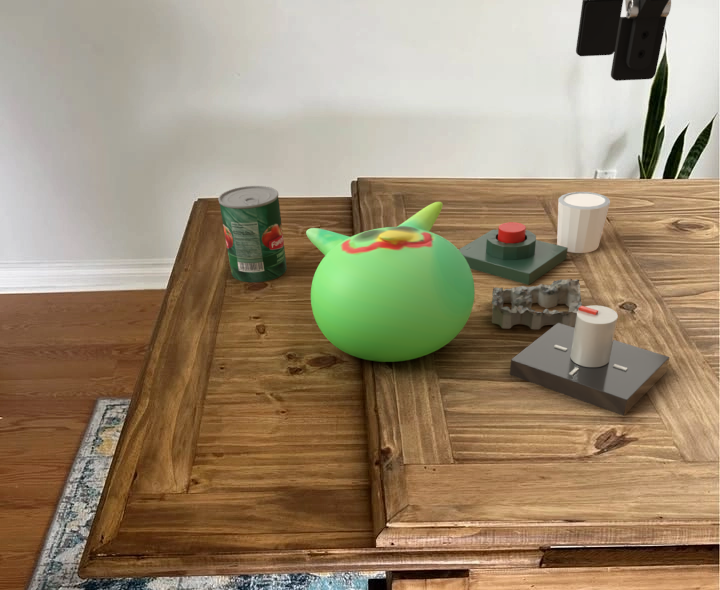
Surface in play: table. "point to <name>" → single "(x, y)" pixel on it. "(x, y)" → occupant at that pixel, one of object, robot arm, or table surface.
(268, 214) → the canned tomato
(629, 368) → the dial base plate
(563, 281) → the egg carton
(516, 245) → the button housing
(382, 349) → the toy bird
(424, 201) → the table surface
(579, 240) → the white cup
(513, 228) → the button
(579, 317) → the knob
